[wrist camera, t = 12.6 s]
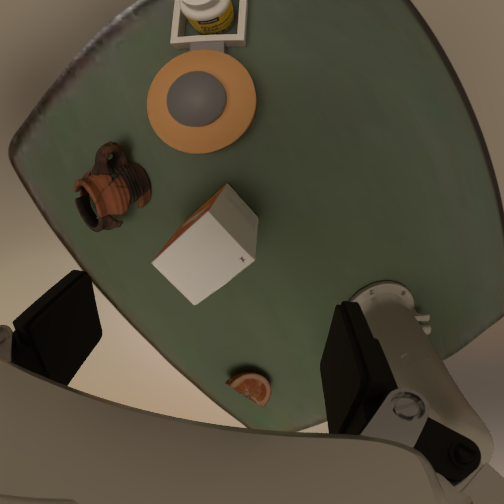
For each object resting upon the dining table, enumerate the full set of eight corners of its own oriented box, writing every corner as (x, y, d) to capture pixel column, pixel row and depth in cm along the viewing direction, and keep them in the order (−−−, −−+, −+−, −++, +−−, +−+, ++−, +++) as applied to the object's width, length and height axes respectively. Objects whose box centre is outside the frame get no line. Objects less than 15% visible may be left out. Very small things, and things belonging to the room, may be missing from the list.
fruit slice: (220, 372, 50) (216, 392, 46) (247, 355, 48) (245, 377, 44) (251, 394, 52) (250, 414, 48) (278, 379, 51) (279, 400, 46)
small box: (227, 181, 37) (208, 208, 25) (259, 217, 38) (257, 261, 27) (182, 221, 39) (149, 263, 27) (214, 254, 41) (195, 308, 29)
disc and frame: (262, -8, 26) (261, -32, 20) (254, 151, 35) (252, 156, 29) (170, -3, 26) (153, -24, 20) (160, 150, 35) (139, 156, 29)
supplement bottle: (206, 44, 30) (187, 20, 21) (185, 16, 28) (162, -12, 19) (243, 24, 28) (237, -7, 19) (222, -4, 26) (209, -38, 17)
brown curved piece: (156, 221, 40) (110, 249, 34) (117, 199, 43) (75, 222, 37) (154, 138, 32) (97, 159, 26) (111, 127, 35) (61, 144, 30)
